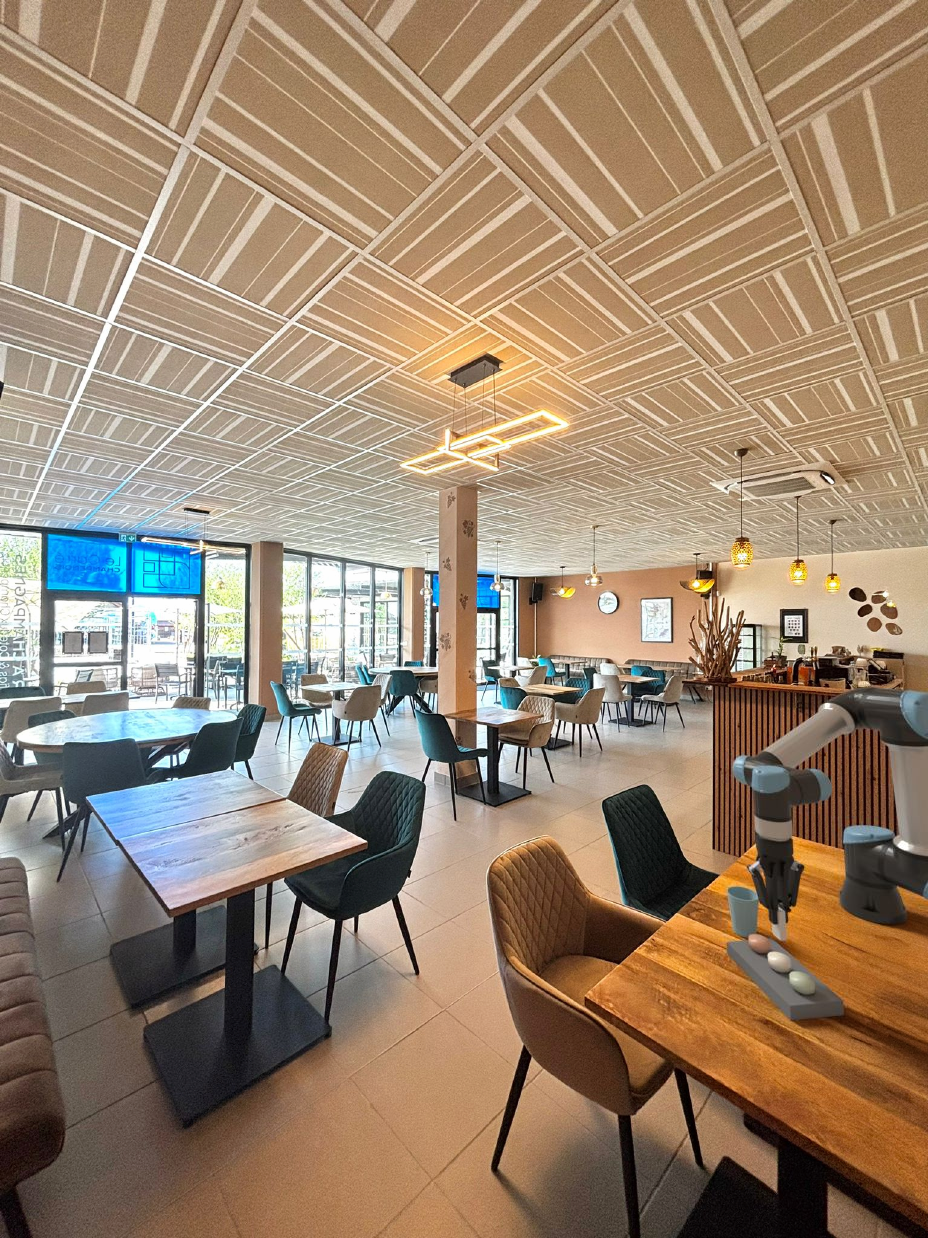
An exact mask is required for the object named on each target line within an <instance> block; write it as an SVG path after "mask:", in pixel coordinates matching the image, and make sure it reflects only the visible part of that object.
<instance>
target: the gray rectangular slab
mask: <svg viewBox="0 0 928 1238" xmlns="http://www.w3.org/2000/svg"><path fill="white" fill-rule="evenodd" d="M766 938H767V939H769V941H770V952H779V953H782V954H785V955H786V956H788V957H789V958H790V959H791V971H790V972H786V973H782V974H778V973H777V972H776V971H775V970H774V969H773V968H771V967H770V966H769V964H768V953H769V952H768V953H764V954H757V953H756V952H755V951H754V950H753V949H751V948H750V947H749V939H746V940H745V939H744V940H733V941H726V954H727V956H728V957H729V958H730V959H731V960H732V961H733V962H734V963H735V964H736V965H737V966H738V967H739V968H740V969H741V970H742V971H743V972H744V974H746V976H748V977H749V978H750V980H751V981H753V983H754V984H755V985H756V986H757V987H758V988H759V989H760V990H761V991H762V992H763V993H764V994H765V995H766V997H767V998H768V999H769V1000H770V1001H771V1002H773V1004H774V1005H775V1006H776V1007H777V1008H778V1009H779V1010H780V1011H781V1012H782V1013H783V1015H784V1016H786V1017H787V1019H788V1020H790V1021H799V1020H806V1019H807V1020H809V1019H817V1018H827V1017H837V1016H845V1009H844V1008H845V1007H844V1006H845V1005H844V1000H843V999H842V998H841V997H840V996H839V995H838V994H836V993H835V992H834V991H833V990H832V989H831V988H830V987H828V986H827V985H826V984H825V983H824V982H823V981H822V980H821V979H819V978H818V977H817V976H816V975H815V974H814V973H812V972H811V971H810V970H809V969H808V968H806V967H805V966H804V965H803V964H802V963H801V962H800V961H798V959H796V958H795V957H794V956H793V955H792V954H790V953H789V952H788V951H787V950H786V949H785V948H784V947H782V945H780V944H779V943H778V942H777V941H776V940H775V939H774V938H772V937H766ZM794 971H798V972H802V973H805V974H807V975H809V976H811V977H812V978H813V979H814V981H815V993H813V994H808V995H804V996H801V995H800V994H799V993H798V992H797V991H796V990H795V989H793V988H792V987H791V985H790V976H789V974H790V973H791V972H794Z"/></svg>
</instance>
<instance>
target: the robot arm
mask: <svg viewBox="0 0 928 1238" xmlns="http://www.w3.org/2000/svg"><path fill="white" fill-rule="evenodd" d="M864 729H865V730H867V729H868V730H872V731H877V732H879V737H880V742H881V743H883V744H884V746H887V747H888V751H889V759H890V766H891V767H890V768H891V775H892V783H893V785H892V786H893V793H894V801H895V802H894V803H895V808H896V815H897V816H896V817H897V823H898V824H897V825H898V833H899V834H898V835H896V834H895V832H894V831H892V830H891V829H888V828H886V827H882V826H881V827H880V826H875V825H863V824H862V825H852V826H851V825H850V826H848V827H846V828H845V829H844V830H843V841H842V843H843V852H844V854H843V855H844V857H843V858H844V870H845V871H844V872H845V874H844V875H845V876H844V877H845V878H844V880H843V882H842V883H843V884H842V886H841V887H842V888H841V890H840V891H839V895H838V901H839V905H840V906H841V907H842V909H844V910H845V911H847V912H848V913H850V914H852V915H853V916H856V917H858V918H860V919H863V920H866V921H870V922H873V923H876V924H877V923H879V924H882V925H901V924H904V923H905V922H907V920H908V912H907V908H906V906H905V904H904V901H903V898H902V896H901V894H900V892H899V890H898V889H899V888H901V889H903V890H905V891H908V892H910V893H913V894H916V895H917V896H920V897H922V898H924V899H925V900H927V901H928V692H922V691H917V690H913V689H911V690H909V689H897V688H896V689H895V688H883V687H875V686H874V687H871V686H865V687H857V688H854V689H851V690H848V691H845V692H842V693H840V694H838V695H836V696H834V697H832V698H830V699H829V700H827V701H826V702H824V703H822V704H821V705H820V706H819V707H818V710H817V712H816V713H815V714H813V715H812V716H811V717H810V718H808V719H807V720H805V721H803V722H802V723H801V724H798V726H796V727H795V728H794V729H792V730H791V731H788V732H787V733H786V734H784V735H783V736H782V737H780V738H779V739H777V740H776V741H774V742H773V743H771V744H770V745H769V746H767V747H766V748H765V749H763V750H761V751H760V752H759V753H756V755H754V756H751V755H745V754H744V755H739V756H737V757H736V758H735V760H734V761H733V763H732V775H733V776H734V778H735V779H736V780H737V781H738V782H740V783H741V784H743V785H745V786H748V787H751V788H752V799H753V813H754V818H753V819H754V829H755V830H754V831H755V834H754V835H755V848H756V851H757V855H756V858H755V861H756V862H754V863H753V864H747V865H746V869H747V871H748V872H749V874H751V878H752V881H753V885H754V889H755V892H756V893H757V896H758V899H759V904H760V905H761V906H763V907H764V908H765V909H767V910H768V911H767V912H768V921H769V922H770V923H771V928H772V929H771V930H772V935H773V936H775V937H776V938H777V939H778V940H779V941H787V939H788V938H787V937H788V936H787V924H789V913H791V912H792V909H791V907H792V908H795V907H797V901H798V896H799V890H800V889H799V888H800V883H801V876H802V874H803V873H804V870H805V868H806V867H805V865H804V864H802V863H801V862H799V861H797V860H795V858H794V856H793V855H794V840H793V838H792V837H793V834H794V833H793V820H792V808H793V807H797V806H798V807H799V806H805V805H809V804H810V805H811V804H817V803H819V802H822V801H826V800H828V799H829V798H830V797H831V795H832V793H833V786H832V785H833V784H832V782H831V780H830V779H829V777H828V775H826V774H825V773H824V772H823V771H822V770H819V769H816V768H804V769H798V768H796V767H798V766H799V765H800V764H802V763H803V762H804V761H806V760H807V759H809V758H810V757H811V756H813V755H814V754H816V753H817V752H818V751H820V750H821V749H823V748H824V747H825V746H828V744H829V743H831V742H832V741H834V740H835V739H837V738H838V737H840V736H841V735H848V734H851V733H852V732H854V731H855V730H864ZM762 874H763V876H764V877H763V876H762ZM898 887H899V888H898Z"/></svg>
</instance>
